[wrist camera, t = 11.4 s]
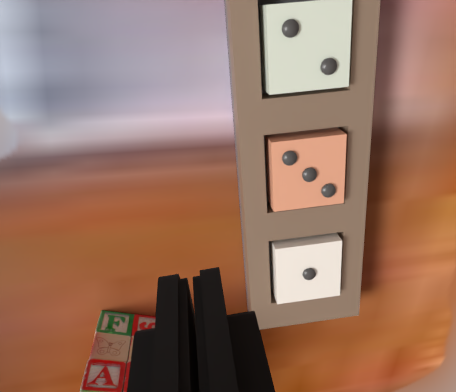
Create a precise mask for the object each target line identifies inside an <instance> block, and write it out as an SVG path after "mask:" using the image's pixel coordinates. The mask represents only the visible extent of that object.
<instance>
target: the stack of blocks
mask: <svg viewBox="0 0 456 392" xmlns="http://www.w3.org/2000/svg"><path fill="white" fill-rule="evenodd" d="M155 319H156V316H148V315H139V314H127V313H120V312H112V311H104V310H102V311H101V314H100V317H99V320H98V324H97V327H96V331H95V335H94V342H93V346H92V350H91V354H90V359H89V360H88V361H87V365H86V369H85V373H84V376H83V380H82V384H81V388H80V392H127V386H128V378H129V370H130V362H131V354H132V347H133V339H134V334H135V332H136V331H139V330H145V329H151V328H155Z"/></svg>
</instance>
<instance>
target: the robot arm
mask: <svg viewBox="0 0 456 392" xmlns="http://www.w3.org/2000/svg"><path fill="white" fill-rule="evenodd" d="M193 290H194V307H195V314H194V309H193V304H192V299H191V294H190V289H189V284H188V280H187V278H184V279H180V277H179V274H175V275H169V276H163V277H159V278H158V289H157V304H156V319H155V328H151V329H145V330H139V331H136V332H135V334H134V339H133V347H132V354H131V362H130V370H129V378H128V386H127V392H275V390H274V386H273V382H272V378H271V374H270V370H269V366H268V362H267V358H266V354H265V350H264V346H263V342H262V338H261V334H260V330H259V326H258V322H257V318H256V314H255V311H249V312H243V313H237V314H232V315H227V314H226V308H225V302H224V295H223V289H222V283H221V276H220V270H219V267H217V268H211V269H205V270H200V276H196V277H193Z"/></svg>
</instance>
